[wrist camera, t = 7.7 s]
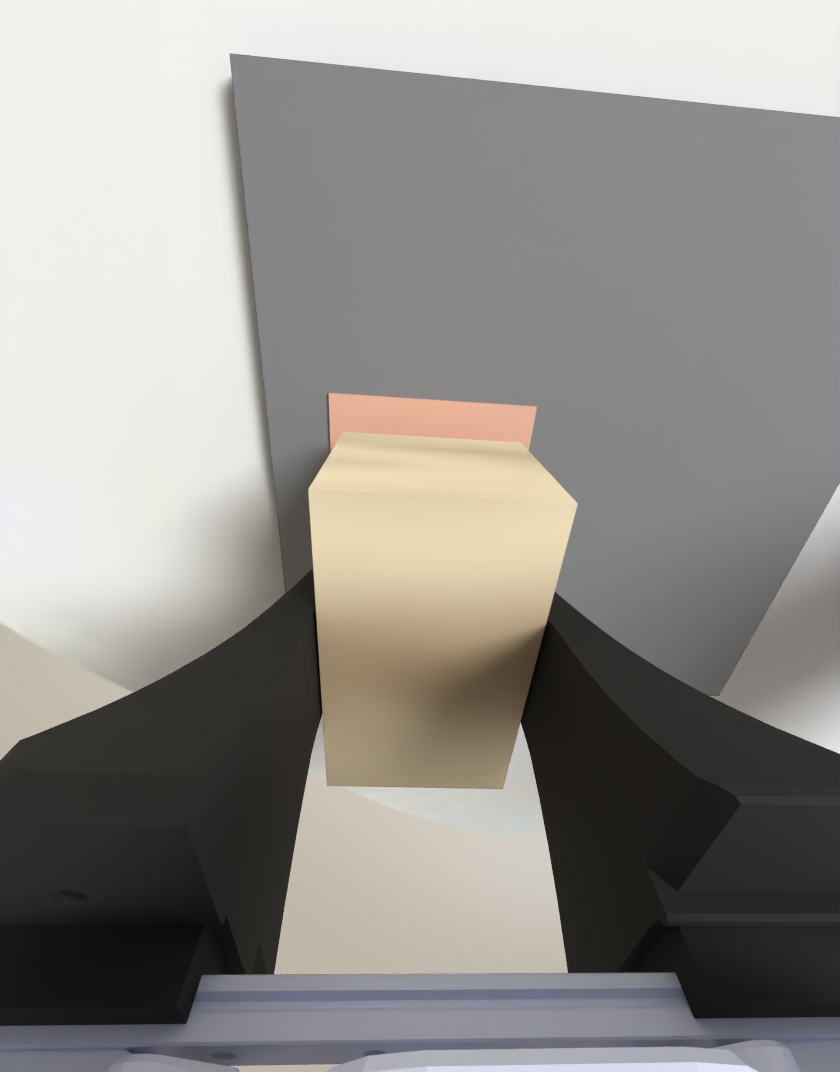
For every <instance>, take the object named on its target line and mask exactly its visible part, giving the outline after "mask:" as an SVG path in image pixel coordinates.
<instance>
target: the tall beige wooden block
mask: <svg viewBox="0 0 840 1072" xmlns="http://www.w3.org/2000/svg"><path fill="white" fill-rule="evenodd" d="M308 493H309V509H310V525H311V540H312V556H313V572H314V587H315V603H316V619H317V634H318V650H319V666H320V681H321V697H322V713H323V728H324V744H325V760H326V775H327V786H368V787H424V788H480V789H503V786H504V782H505V778H506V774H507V771H508V767H509V763H510V759H511V755H512V752H513V748H514V744H515V740H516V736H517V733H518V729H519V725H520V721H521V717H522V714H523V710H524V706H525V702H526V698H527V695H528V691H529V687H530V683H531V680H532V676H533V672H534V668H535V664H536V661H537V657H538V653H539V649H540V645H541V642H542V638H543V634H544V630H545V626H546V623H547V619H548V615H549V611H550V607H551V604H552V600H553V596H554V592H555V588H556V585H557V581H558V577H559V573H560V569H561V566H562V562H563V558H564V554H565V550H566V547H567V543H568V539H569V535H570V531H571V528H572V524H573V520H574V516H575V512H576V509H577V505H578V503H577V502H576V501H575V500H574V499H573V498H572V497H571V496H570V495H569V494H568V492H567V491H566V490H565V489H564V488H563V487H562V486H561V485H560V484H559V483H558V482H557V481H556V480H555V479H554V477H553V476H552V475H551V474H550V473H549V472H548V471H547V470H546V469H545V468H544V467H543V466H542V465H541V464H540V462H539V461H538V460H537V459H536V458H535V457H534V456H533V455H532V454H531V453H530V452H529V451H528V450H527V449H526V447H525V446H524V445H523V444H522V443H521V442H505V441H489V440H472V439H456V438H439V437H422V436H406V435H389V434H373V433H356V432H343V433H342V435H341V437H340V438H339V440H338V442H337V443H336V445H335V446H334V448H333V450H332V451H331V453H330V455H329V456H328V458H327V459H326V461H325V463H324V464H323V466H322V468H321V469H320V471H319V472H318V474H317V476H316V477H315V479H314V481H313V482H312V484H311V485H310V487H309V489H308Z"/></svg>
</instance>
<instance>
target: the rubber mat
mask: <svg viewBox="0 0 840 1072" xmlns="http://www.w3.org/2000/svg"><path fill="white" fill-rule="evenodd" d="M230 62H231V72H232V82H233V91H234V101H235V111H236V120H237V130H238V139H239V149H240V159H241V168H242V178H243V188H244V197H245V207H246V217H247V226H248V236H249V245H250V255H251V265H252V274H253V284H254V294H255V303H256V313H257V322H258V332H259V342H260V351H261V361H262V371H263V380H264V390H265V400H266V409H267V419H268V428H269V438H270V448H271V457H272V467H273V477H274V486H275V496H276V506H277V515H278V525H279V534H280V544H281V554H282V563H283V573H284V583H285V592H286V593H287V592H288V591H289V590H290V589H291V588H292V587H293V586H294V585H295V584H296V583H297V582H298V581H299V580H300V579H301V578H302V577H303V576H304V575H305V574H306V573H308V572H309V571H310V570H311V569H312V568H313V556H312V540H311V525H310V509H309V493H308V489H309V487H310V485H311V484H312V482H313V481H314V479H315V477H316V476H317V474H318V472H319V471H320V469H321V468H322V466H323V464H324V463H325V461H326V459H327V458H328V456H329V455H330V453H331V451H332V450H333V448H334V446H335V445H336V443H337V442H338V440H339V438H340V437H341V435H342V433H343V432H356V433H373V434H389V435H406V436H422V437H439V438H456V439H472V440H489V441H505V442H521V443H522V444H523V445H524V446H525V447H526V449H527V450H528V451H529V452H530V453H531V454H532V455H533V456H534V457H535V458H536V459H537V460H538V461H539V462H540V464H541V465H542V466H543V467H544V468H545V469H546V470H547V471H548V472H549V473H550V474H551V475H552V476H553V477H554V479H555V480H556V481H557V482H558V483H559V484H560V485H561V486H562V487H563V488H564V489H565V490H566V491H567V492H568V494H569V495H570V496H571V497H572V498H573V499H574V500H575V501H576V502H577V503H578V505H577V509H576V512H575V516H574V520H573V524H572V528H571V531H570V535H569V539H568V543H567V547H566V550H565V554H564V558H563V562H562V566H561V569H560V573H559V577H558V581H557V585H556V588H555V592H556V593H557V594H559V595H560V596H561V597H562V598H563V599H564V600H566V601H567V602H568V603H569V604H570V605H571V606H573V607H574V608H575V609H576V610H577V611H579V612H580V613H581V614H582V615H584V616H585V617H586V618H587V619H589V620H590V621H591V622H592V623H594V624H595V625H596V626H598V627H599V628H600V629H602V630H603V631H604V632H606V633H607V634H608V635H610V636H611V637H612V638H614V639H615V640H616V641H618V642H619V643H621V644H622V645H624V646H625V647H627V648H628V649H629V650H631V651H633V652H634V653H636V654H637V655H639V656H640V657H642V658H643V659H645V660H647V661H648V662H650V663H651V664H653V665H654V666H656V667H658V668H659V669H661V670H663V671H664V672H666V673H668V674H670V675H671V676H673V677H675V678H677V679H678V680H680V681H682V682H684V683H686V684H687V685H689V686H691V687H693V688H695V689H697V690H698V691H700V692H702V693H704V694H706V695H709V696H719V694H720V693H721V691H722V689H723V687H724V686H725V684H726V682H727V680H728V679H729V677H730V675H731V673H732V671H733V670H734V668H735V666H736V664H737V663H738V661H739V659H740V657H741V656H742V654H743V652H744V650H745V649H746V647H747V645H748V643H749V642H750V640H751V638H752V636H753V635H754V633H755V631H756V629H757V627H758V626H759V624H760V622H761V620H762V619H763V617H764V615H765V613H766V612H767V610H768V608H769V606H770V605H771V603H772V601H773V599H774V598H775V596H776V594H777V592H778V590H779V589H780V587H781V585H782V583H783V582H784V580H785V578H786V576H787V575H788V573H789V571H790V569H791V568H792V566H793V564H794V562H795V561H796V559H797V557H798V555H799V554H800V552H801V550H802V548H803V546H804V545H805V543H806V541H807V539H808V538H809V536H810V534H811V532H812V531H813V529H814V527H815V525H816V524H817V522H818V520H819V518H820V517H821V515H822V513H823V511H824V509H825V508H826V506H827V504H828V502H829V501H830V499H831V497H832V495H833V494H834V492H835V490H836V488H837V487H838V485H839V483H840V117H831V116H821V115H812V114H802V113H793V112H783V111H774V110H764V109H755V108H745V107H735V106H726V105H716V104H707V103H697V102H688V101H678V100H669V99H659V98H650V97H640V96H631V95H621V94H611V93H602V92H592V91H583V90H573V89H564V88H554V87H545V86H535V85H526V84H516V83H506V82H497V81H487V80H478V79H468V78H459V77H449V76H440V75H430V74H421V73H411V72H402V71H392V70H382V69H373V68H363V67H354V66H344V65H335V64H325V63H316V62H306V61H297V60H287V59H278V58H268V57H258V56H249V55H239V54H230Z"/></svg>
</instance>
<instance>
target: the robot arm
mask: <svg viewBox="0 0 840 1072" xmlns="http://www.w3.org/2000/svg"><path fill="white" fill-rule="evenodd" d="M321 716H322V697H321V681H320V666H319V650H318V634H317V619H316V603H315V587H314V572H313V568H312V569H311V570H310V571H309V572H308V573H306V574H305V575H304V576H303V577H302V578H301V579H300V580H299V581H298V582H297V583H296V584H295V585H294V586H293V587H292V588H291V589H290V590H289V591H288V592H287V593H285V594H284V595H283V596H282V597H281V598H280V599H279V600H278V601H277V602H275V603H274V604H273V605H272V606H271V607H270V608H269V609H267V610H266V611H265V612H264V613H262V614H261V615H260V616H259V617H257V618H256V619H255V620H254V621H252V622H251V623H250V624H249V625H247V626H246V627H245V628H243V629H242V630H241V631H239V632H238V633H236V634H235V635H234V636H232V637H231V638H229V639H228V640H226V641H225V642H223V643H222V644H220V645H219V646H217V647H216V648H214V649H212V650H211V651H209V652H208V653H206V654H204V655H203V656H201V657H199V658H197V659H196V660H194V661H192V662H190V663H189V664H187V665H185V666H183V667H182V668H180V669H178V670H176V671H175V672H173V673H171V674H169V675H167V676H166V677H164V678H162V679H160V680H158V681H156V682H154V683H152V684H150V685H148V686H146V687H144V688H142V689H140V690H138V691H136V692H134V693H132V694H130V695H128V696H125V697H123V698H121V699H119V700H117V701H115V702H112V703H110V704H108V705H106V706H103V707H101V708H99V709H97V710H95V711H92V712H90V713H87V714H85V715H82V716H80V717H77V718H75V719H72V720H70V721H68V722H65V723H63V724H60V725H58V726H55V727H53V728H50V729H48V730H45V731H43V732H41V733H38V734H36V735H33V736H30V737H28V738H25V739H22V740H20V741H19V742H18V743H17V744H16V745H15V746H14V747H13V748H12V749H11V750H10V751H9V752H8V753H7V754H6V755H5V756H4V758H2V759H1V760H0V1072H239V1070H238V1068H235V1067H230V1066H242V1065H303V1064H304V1065H307V1064H341V1065H337V1066H334V1067H331V1068H330V1069H329V1070H328V1071H327V1072H840V754H838V753H836V752H833V751H831V750H829V749H826V748H824V747H821V746H819V745H816V744H814V743H811V742H809V741H807V740H804V739H802V738H799V737H797V736H794V735H792V734H789V733H787V732H784V731H782V730H780V729H777V728H775V727H773V726H770V725H768V724H766V723H764V722H762V721H760V720H757V719H755V718H753V717H751V716H749V715H747V714H745V713H742V712H740V711H738V710H736V709H734V708H732V707H730V706H728V705H726V704H724V703H722V702H720V701H718V700H716V699H714V698H712V697H710V696H708V695H706V694H704V693H702V692H700V691H698V690H697V689H695V688H693V687H691V686H689V685H687V684H686V683H684V682H682V681H680V680H678V679H677V678H675V677H673V676H671V675H670V674H668V673H666V672H664V671H663V670H661V669H659V668H658V667H656V666H654V665H653V664H651V663H650V662H648V661H647V660H645V659H643V658H642V657H640V656H639V655H637V654H636V653H634V652H633V651H631V650H629V649H628V648H627V647H625V646H624V645H622V644H621V643H619V642H618V641H616V640H615V639H614V638H612V637H611V636H610V635H608V634H607V633H606V632H604V631H603V630H602V629H600V628H599V627H598V626H596V625H595V624H594V623H592V622H591V621H590V620H589V619H587V618H586V617H585V616H584V615H582V614H581V613H580V612H579V611H577V610H576V609H575V608H574V607H573V606H571V605H570V604H569V603H568V602H567V601H566V600H564V599H563V598H562V597H561V596H560V595H559V594H557V593H556V592H554V596H553V600H552V604H551V607H550V611H549V615H548V619H547V623H546V626H545V630H544V634H543V638H542V642H541V645H540V649H539V653H538V657H537V661H536V664H535V668H534V672H533V676H532V680H531V683H530V687H529V691H528V695H527V698H526V702H525V706H524V710H523V714H522V717H521V725H522V728H523V731H524V734H525V737H526V741H527V744H528V748H529V752H530V756H531V760H532V764H533V769H534V774H535V779H536V784H537V789H538V793H539V798H540V804H541V809H542V814H543V820H544V825H545V830H546V835H547V840H548V846H549V852H550V858H551V864H552V870H553V876H554V882H555V888H556V894H557V899H558V906H559V914H560V920H561V927H562V934H563V941H564V947H565V954H566V961H567V968H568V973H494V974H493V973H492V974H491V973H490V974H301V975H299V974H291V975H289V974H285V975H274V970H275V964H276V957H277V951H278V944H279V938H280V932H281V925H282V919H283V912H284V906H285V900H286V894H287V888H288V882H289V876H290V870H291V864H292V858H293V852H294V846H295V840H296V834H297V828H298V823H299V818H300V812H301V806H302V800H303V795H304V790H305V785H306V779H307V774H308V769H309V763H310V758H311V753H312V749H313V745H314V741H315V737H316V733H317V730H318V726H319V723H320V719H321Z"/></svg>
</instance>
